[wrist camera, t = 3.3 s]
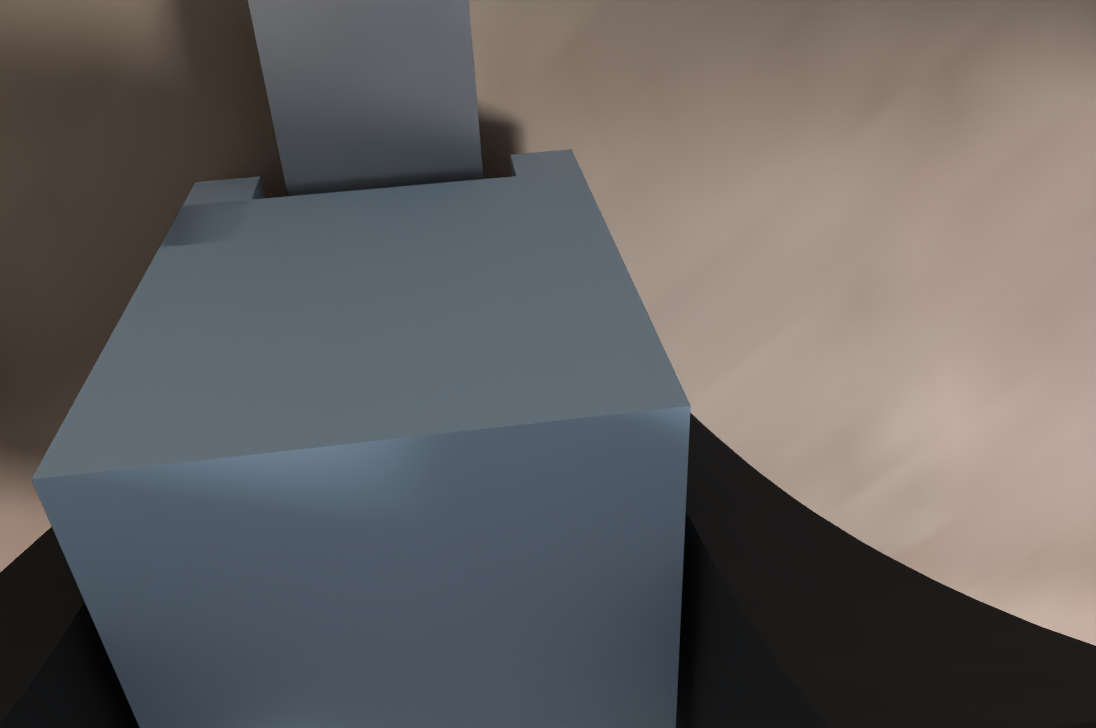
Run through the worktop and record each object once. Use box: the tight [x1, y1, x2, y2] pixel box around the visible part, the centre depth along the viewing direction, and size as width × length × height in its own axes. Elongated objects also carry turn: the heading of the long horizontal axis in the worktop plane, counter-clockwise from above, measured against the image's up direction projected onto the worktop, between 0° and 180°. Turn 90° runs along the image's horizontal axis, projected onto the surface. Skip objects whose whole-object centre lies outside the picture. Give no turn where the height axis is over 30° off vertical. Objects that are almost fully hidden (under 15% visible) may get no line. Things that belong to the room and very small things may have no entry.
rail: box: [248, 0, 483, 196], centre depth 13 cm, size 4×20×3 cm, turn 2°
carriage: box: [31, 150, 690, 728], centre depth 11 cm, size 5×6×6 cm
